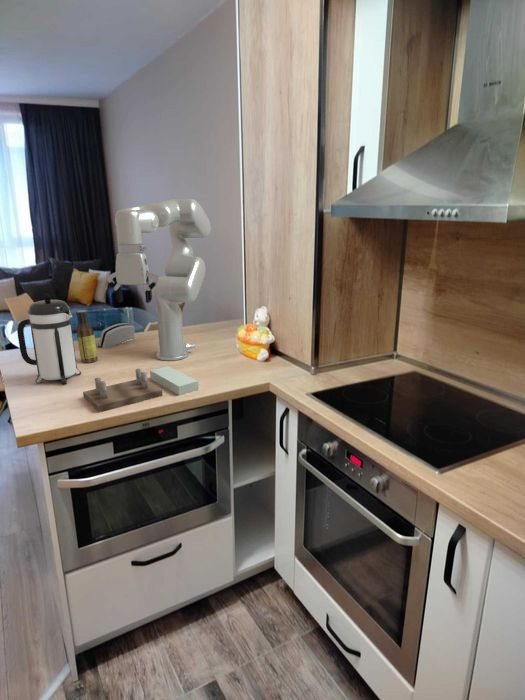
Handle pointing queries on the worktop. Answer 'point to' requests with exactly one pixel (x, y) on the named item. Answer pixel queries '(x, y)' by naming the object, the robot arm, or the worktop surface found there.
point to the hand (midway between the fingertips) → (134, 302)
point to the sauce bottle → (86, 338)
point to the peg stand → (121, 392)
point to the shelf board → (174, 380)
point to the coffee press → (50, 340)
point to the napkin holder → (116, 335)
